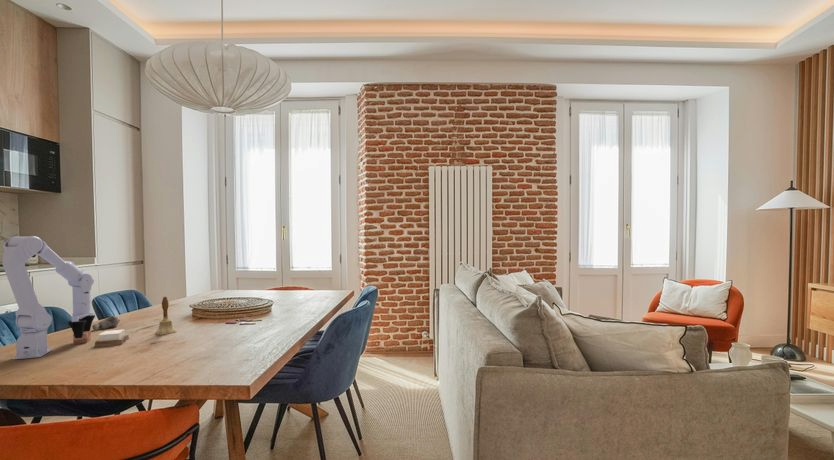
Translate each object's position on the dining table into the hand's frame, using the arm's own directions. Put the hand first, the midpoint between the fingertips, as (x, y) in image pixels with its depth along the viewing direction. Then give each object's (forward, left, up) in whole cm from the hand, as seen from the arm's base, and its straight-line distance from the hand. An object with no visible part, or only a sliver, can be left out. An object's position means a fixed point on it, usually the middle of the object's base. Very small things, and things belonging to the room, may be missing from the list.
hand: (82, 335), depth 172 cm
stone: (+25, -1, -3) cm, 26 cm away
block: (0, 0, -3) cm, 3 cm away
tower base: (-6, -12, -3) cm, 14 cm away
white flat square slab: (-6, -12, -1) cm, 13 cm away
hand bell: (+5, -29, -3) cm, 29 cm away
